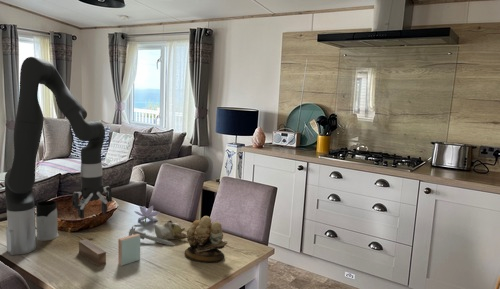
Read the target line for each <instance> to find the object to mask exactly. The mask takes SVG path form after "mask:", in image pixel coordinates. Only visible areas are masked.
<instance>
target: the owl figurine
mask: <svg viewBox="0 0 500 289" xmlns="http://www.w3.org/2000/svg"><path fill="white" fill-rule="evenodd" d="M186 235H187V238H186V239H187V240H186V241H187V243H188V244H189V246H188V247H187V248H186V249H185V251H184V253H183V254H184V257H186V258H187V259H188V260H191V261H194V262H199V263H204V264H206V263H207V264H214V263H218V262H222V260H223V259H225V253H223V252H222V250H220V249H224V248H225V246H226V245H227V244H228V241H225V240H224V241H223V239H224V233H223V231H222V223H221V222H220V221H212V219H211V217H210V216H208V215H204V216H203V217H201V219H196V220H193V222H192V224H191V225H190V226H189V227H188V228H187V229H186Z"/></svg>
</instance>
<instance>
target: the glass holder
mask: <svg viewBox="0 0 500 289" xmlns="http://www.w3.org/2000/svg"><path fill="white" fill-rule="evenodd" d="M35 204H36V207H35V208H36V213H35V224H36V226H35V231H36V241H42V242H44V241H51V240H55V239H56V238H58V237H59V236H60V235H59V233H58V208H57V201H55V200H42V201H38V202H37V203H35Z"/></svg>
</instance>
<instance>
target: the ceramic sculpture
mask: <svg viewBox="0 0 500 289" xmlns="http://www.w3.org/2000/svg"><path fill="white" fill-rule="evenodd" d="M185 230H186V228H182V227H181V225H180V224H179V223H178V222H173V221H172V220H169V221H166V222H165V223H164V224H157V223H156V224H154V233H155V235H156V236H155V237H157V238H161V239H164V240H167V239H169V240H185V239H187V233H184V231H185Z"/></svg>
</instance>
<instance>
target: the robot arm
mask: <svg viewBox="0 0 500 289" xmlns="http://www.w3.org/2000/svg"><path fill="white" fill-rule="evenodd" d="M39 85H44V86H45V87H46V88H47V89H49V90H50V92H51V93H52V94H53V96H54V98H55V102H56V106H57V108H58V110H59V111H60V112H61V113H62V114H63V115H64V117H65V118H66V119H67V121H68V122H69V125H70V127H71V129H72V132H73V134H74V136H76V138H77V139H79V140H80V141H82V142H87V145H85V146H84V147H82V148H81V149H80V172H79V173H80V184H81V185H80V186H81V188H80V189H81V191H73V192H72V198H71V199H72V201H71V202H72V208H74V209H76V210H77V216H78V218H80V219H81V220H83V219H85V209H84V208H85V206H86V205H87V204H88V203H89V202H94V201H98V200H99V201H100V202H101V206H100V207H101V213H102V214H103V215H104V214H107V212H108V203H110V202H111V203H112V201H113V197H112V196H113V194H112V187H111V186H109V185H105V186H104V187H103V184H104V180H103V165H102V149H103V146H104V141H105V137H106V129H105V126H104V124H103V123H102V122H101V121H99V120H91V121H89V120H88V121H86V118H87V116H88V112H87V110H86V109H85V108H84V107H83V105H82V103H80V102H79V101H78V100H77V99H76V98H75V96H74V94H73V93H72V92H71V91H70V89H69V88H68V87H67V85H66V83H65V82H64V79H63V77H62V76H61V75H60V72H59V71H58V70H57V68H56V67H55V65H54V64H53V63H52V62H50V61H48V60H45V59H41V58H38V57H35V56H29V57H26V58H25V59H24V60H23V61H22V64H21V66H20V72H19V94H18V102H17V109H16V110H17V111H16V114H15V121H14V127H13V160H12V164H11V168H10V169H8V170H7V171H6V172H5V175H4V192H5V193H4V194H5V204H6V219H7V220H6V221H7V226H6V227H5V236H6V237H5V238H6V251H7V252H8V254H9V255H10V256H15V255H24V254H28V253H29V254H30V253H31V252H34V251H35V250H36V247H37V242H36V241H37V239H36V236H37V234H36V229H35V227H36V215H35V214H36V210H35V208H36V207H35V204H36V203H35V198H34V192H33V187H34V185H35V183H36V165H37V156H38V152H39V148H40V143H41V138H42V133H43V128H44V121H45V120H44V119H45V118H44V117H45V116H44V114H43V111H42V108H41V105H40V102H39V97H38V92H39ZM103 193H105V197H104V196H103V195H102V194H103ZM80 197H81V199H80ZM79 199H80V200H79Z"/></svg>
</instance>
